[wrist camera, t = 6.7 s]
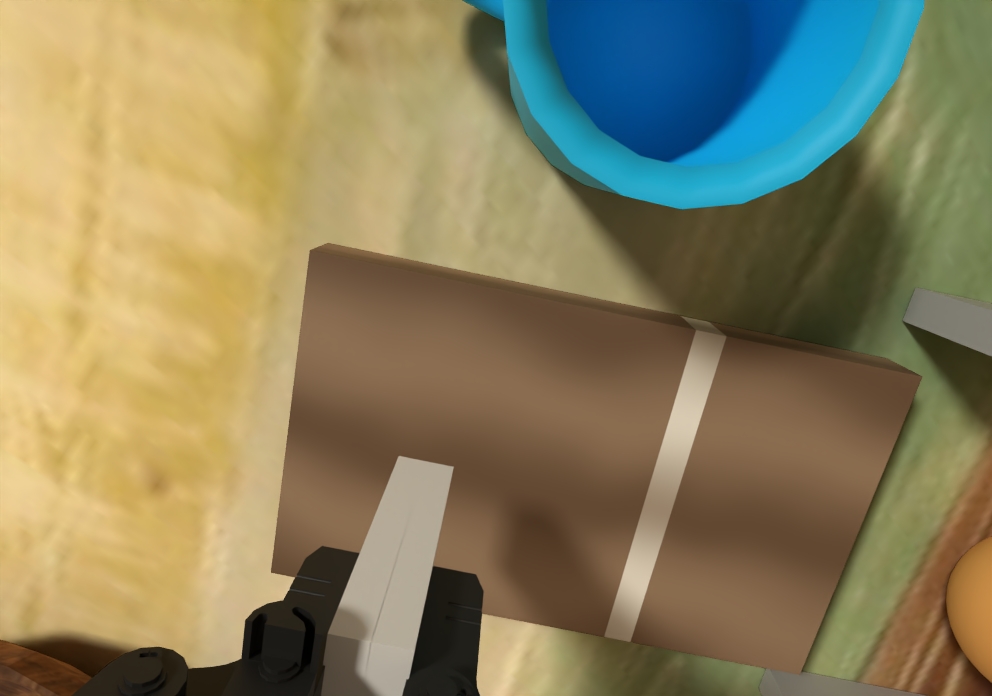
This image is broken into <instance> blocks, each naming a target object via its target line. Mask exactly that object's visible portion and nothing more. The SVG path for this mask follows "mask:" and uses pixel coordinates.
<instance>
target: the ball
mask: <svg viewBox="0 0 992 696" xmlns="http://www.w3.org/2000/svg"><path fill="white" fill-rule="evenodd" d="M946 604H947V614H948V618H949V622H950V626H951V628H952V631H953V633H954V636H955V638H956V640H957V642H958V643H959V645H960V647H961V649H962V651H963V652H964V653H965V655H966V656H967V658H968V659H969V660H970V662H971V663H972V664H973V665H974V666H975V667H976V668H977V670H978V671H979V672H980V673H981V674H982V675H983V676H985V677H986V678H987V679H988V680H989V681H990V682H991V683H992V536H991V537H989V538H987V539H985V540H983V541H981V542H979V543H977V544H976V545H975V546H973V547H972V548H970V549H969V550H968V551H967V552H966V553H965V554H964V555H963V556H962V557H961V558H960V560H959V561H958V563H957V564H956V566H955V568H954V569H953V571H952V574H951V576H950V579H949V582H948V586H947V596H946Z"/></svg>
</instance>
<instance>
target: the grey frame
mask: <svg viewBox="0 0 992 696" xmlns="http://www.w3.org/2000/svg"><path fill="white" fill-rule="evenodd" d="M903 321H904V322H907V323H909V324H912V325H914V326H917V327H919V328H922V329H924V330H927V331H929V332H932V333H934V334H937V335H939V336H942V337H944V338H947V339H949V340H952V341H954V342H957V343H959V344H962V345H964V346H967V347H969V348H972V349H974V350H977V351H979V352H982V353H984V354H987V355H989V356H992V303H988V302H983V301H978V300H974V299H969V298H964V297H959V296H955V295H950V294H945V293H940V292H935V291H931V290H926V289H921V288H915V290H914V293H913V296H912V298H911V301H910V303H909V306H908V308H907V311H906V313H905V316H904V318H903ZM759 690H760V692H761V694H762V696H926V695H921V694H916V693H911V692H905V691H900V690H895V689H890V688H885V687H880V686H874V685H869V684H864V683H859V682H854V681H849V680H843V679H838V678H833V677H828V676H823V675H818V674H812V673H807V672H802V671H801V673H800V675H798V674H793V673H788V672H782V671H777V670H772V669H767V668H766V671H765V673H764V676H763V678H762V681H761V683H760V686H759Z"/></svg>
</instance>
